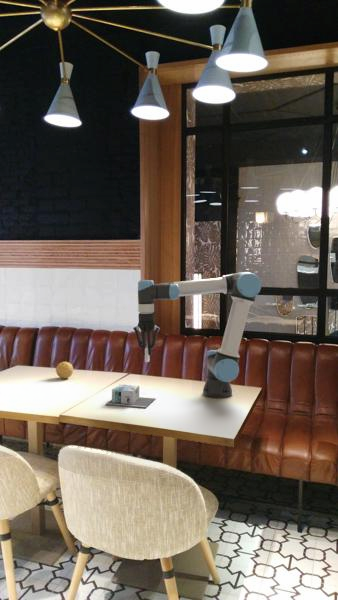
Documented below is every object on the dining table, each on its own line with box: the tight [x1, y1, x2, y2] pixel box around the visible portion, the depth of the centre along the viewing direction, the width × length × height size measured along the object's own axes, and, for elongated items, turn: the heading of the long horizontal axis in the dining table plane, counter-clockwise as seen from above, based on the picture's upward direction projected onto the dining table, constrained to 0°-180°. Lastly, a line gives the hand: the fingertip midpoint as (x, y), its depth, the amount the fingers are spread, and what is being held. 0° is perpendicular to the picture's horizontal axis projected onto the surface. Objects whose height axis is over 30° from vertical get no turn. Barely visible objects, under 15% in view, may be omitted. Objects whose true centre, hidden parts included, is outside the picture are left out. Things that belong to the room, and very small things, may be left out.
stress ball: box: [55, 361, 74, 380], centre depth 280 cm, size 10×10×10 cm
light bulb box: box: [111, 383, 140, 404], centre depth 232 cm, size 11×7×11 cm
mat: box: [105, 396, 156, 409], centre depth 232 cm, size 20×16×1 cm
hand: (147, 361), depth 228 cm, fingers closed
